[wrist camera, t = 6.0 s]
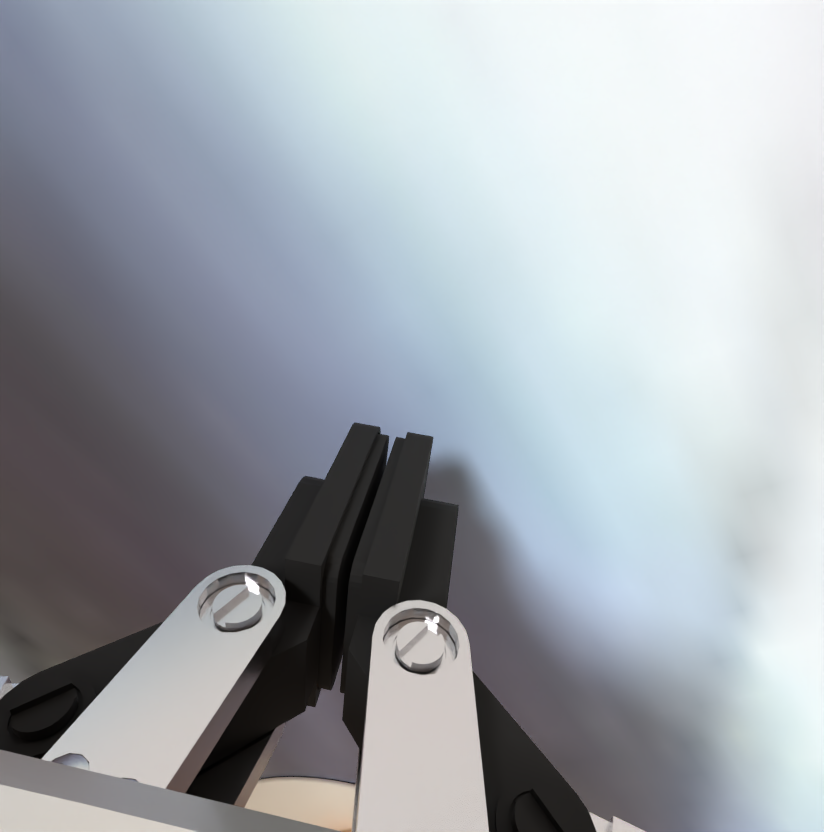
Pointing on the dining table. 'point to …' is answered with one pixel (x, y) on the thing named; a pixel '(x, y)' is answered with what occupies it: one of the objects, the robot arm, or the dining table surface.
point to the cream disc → (306, 800)
